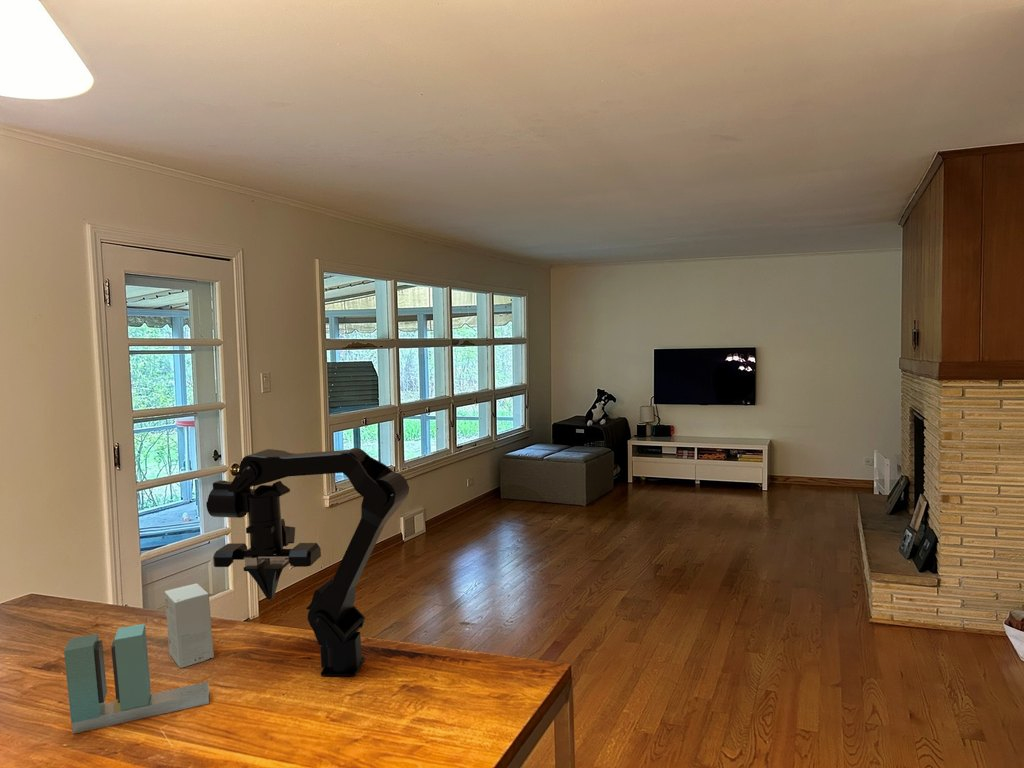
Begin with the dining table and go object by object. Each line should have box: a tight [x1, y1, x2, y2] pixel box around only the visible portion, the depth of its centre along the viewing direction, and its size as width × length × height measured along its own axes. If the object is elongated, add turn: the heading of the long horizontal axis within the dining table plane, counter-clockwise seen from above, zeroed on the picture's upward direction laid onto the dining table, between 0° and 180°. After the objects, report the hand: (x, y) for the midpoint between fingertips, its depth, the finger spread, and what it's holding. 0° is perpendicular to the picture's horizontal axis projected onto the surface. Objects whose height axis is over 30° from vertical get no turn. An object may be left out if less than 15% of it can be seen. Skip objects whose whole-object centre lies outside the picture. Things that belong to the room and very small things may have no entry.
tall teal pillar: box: [110, 623, 152, 711], centre depth 116 cm, size 5×5×12 cm
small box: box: [164, 583, 215, 669], centre depth 137 cm, size 8×6×13 cm
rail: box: [63, 633, 210, 735], centre depth 117 cm, size 20×5×14 cm, turn 112°
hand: (270, 598), depth 132 cm, fingers closed
